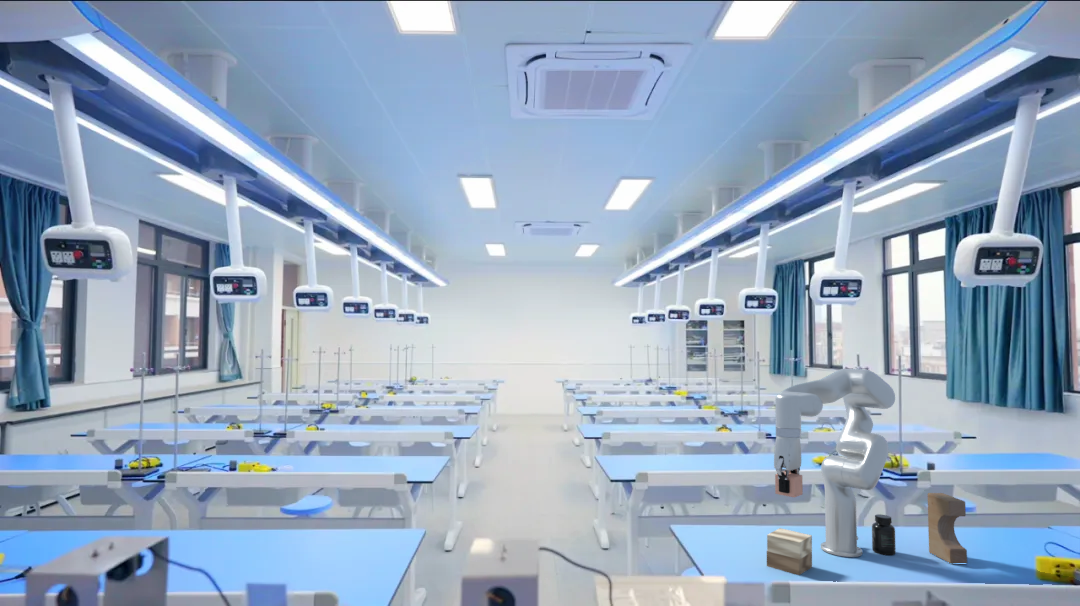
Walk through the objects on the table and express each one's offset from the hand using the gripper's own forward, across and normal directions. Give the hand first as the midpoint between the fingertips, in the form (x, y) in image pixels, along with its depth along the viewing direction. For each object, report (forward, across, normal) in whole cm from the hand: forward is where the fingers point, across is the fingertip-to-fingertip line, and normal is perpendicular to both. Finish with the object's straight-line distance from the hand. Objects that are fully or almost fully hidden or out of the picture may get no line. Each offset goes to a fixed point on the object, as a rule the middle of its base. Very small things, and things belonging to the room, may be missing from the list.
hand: (789, 490), depth 189 cm
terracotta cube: (+1, 0, 0) cm, 1 cm away
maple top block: (+19, 0, 0) cm, 19 cm away
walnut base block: (+24, 0, 0) cm, 24 cm away
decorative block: (+24, -48, +31) cm, 62 cm away
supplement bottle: (+24, -38, +15) cm, 47 cm away
